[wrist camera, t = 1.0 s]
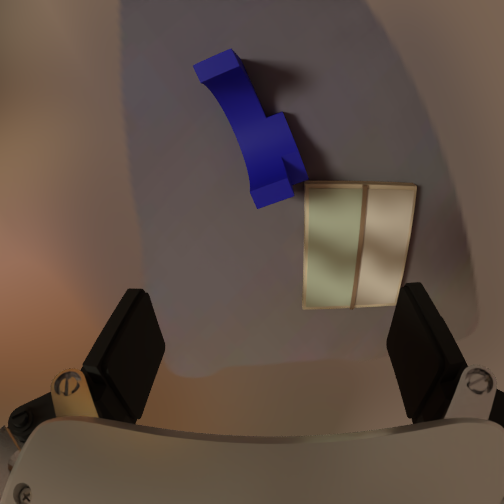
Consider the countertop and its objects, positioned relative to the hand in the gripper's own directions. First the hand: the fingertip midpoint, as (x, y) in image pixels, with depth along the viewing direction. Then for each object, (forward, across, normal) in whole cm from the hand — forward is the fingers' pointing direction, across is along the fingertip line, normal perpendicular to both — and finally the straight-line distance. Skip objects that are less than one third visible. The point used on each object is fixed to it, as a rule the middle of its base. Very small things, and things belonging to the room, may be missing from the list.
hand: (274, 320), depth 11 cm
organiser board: (+19, -8, +8) cm, 22 cm away
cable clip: (+20, +1, -5) cm, 21 cm away
